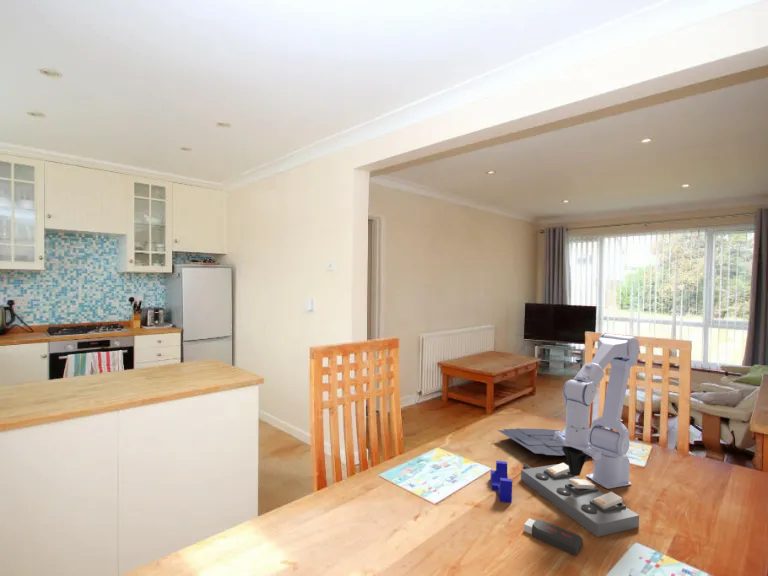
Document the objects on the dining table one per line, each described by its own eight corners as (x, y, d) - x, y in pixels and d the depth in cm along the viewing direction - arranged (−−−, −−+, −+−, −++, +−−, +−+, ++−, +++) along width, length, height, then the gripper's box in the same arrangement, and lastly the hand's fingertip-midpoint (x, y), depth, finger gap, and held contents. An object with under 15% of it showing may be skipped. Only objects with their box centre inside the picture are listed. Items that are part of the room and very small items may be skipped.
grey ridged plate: (493, 435, 153) (494, 426, 153) (556, 436, 163) (557, 427, 163) (538, 464, 130) (539, 453, 130) (608, 463, 140) (609, 452, 140)
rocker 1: (563, 465, 122) (563, 462, 122) (571, 470, 119) (571, 467, 119) (547, 471, 120) (546, 468, 120) (555, 476, 117) (554, 473, 117)
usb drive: (576, 557, 89) (576, 545, 89) (522, 534, 97) (522, 522, 97) (582, 546, 93) (583, 534, 93) (530, 524, 101) (530, 513, 101)
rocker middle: (585, 483, 114) (585, 479, 114) (594, 488, 111) (595, 484, 111) (568, 482, 112) (569, 478, 112) (577, 488, 109) (578, 484, 109)
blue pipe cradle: (490, 479, 122) (491, 460, 122) (505, 481, 121) (506, 461, 121) (494, 501, 110) (495, 479, 110) (511, 503, 109) (512, 481, 109)
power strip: (540, 463, 133) (540, 452, 133) (638, 527, 100) (639, 512, 100) (506, 468, 129) (506, 457, 129) (597, 537, 96) (597, 521, 96)
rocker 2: (611, 495, 106) (611, 491, 106) (622, 501, 103) (622, 497, 103) (593, 502, 104) (593, 498, 104) (604, 509, 101) (603, 505, 101)
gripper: (546, 417, 116) (544, 464, 116) (586, 436, 102) (584, 490, 103) (566, 415, 118) (564, 461, 119) (608, 434, 105) (606, 486, 105)
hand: (575, 474), depth 111 cm, fingers closed
